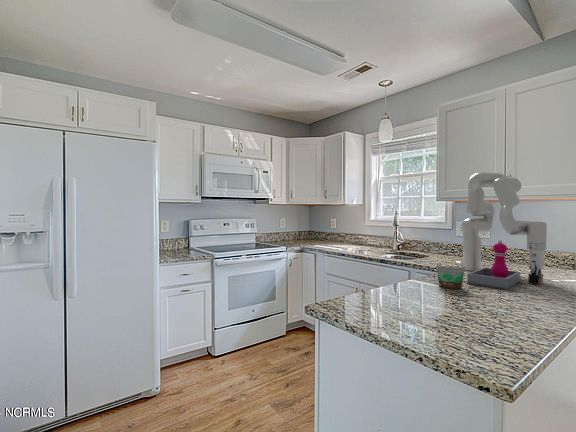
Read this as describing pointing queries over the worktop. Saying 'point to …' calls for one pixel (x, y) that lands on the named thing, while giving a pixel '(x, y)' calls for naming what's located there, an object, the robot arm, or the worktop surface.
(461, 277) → the food container
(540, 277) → the wooden block
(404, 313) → the worktop surface
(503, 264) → the pepper mill
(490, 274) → the tray
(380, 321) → the worktop surface
